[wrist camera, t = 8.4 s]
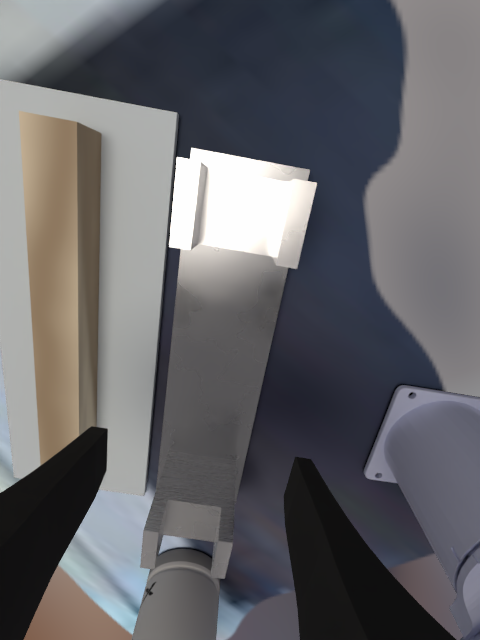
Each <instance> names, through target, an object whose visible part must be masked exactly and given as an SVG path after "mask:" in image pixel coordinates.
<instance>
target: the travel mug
mask: <svg viewBox="0 0 480 640" xmlns="http://www.w3.org/2000/svg"><path fill="white" fill-rule="evenodd" d="M211 568H212V558H210V557H209V556H207V555H206V554H204V553H202V552H199V551H196V550H192V549H174V550H170V551H167V552H165V553H163V554H161V555H159V556H158V557H157V561H156V565H155V569H150V572H149V576H148V580H147V584H146V587H145V591H144V595H143V599H142V602H141V606H140V610H139V614H138V617H137V621H136V625H135V629H134V633H133V636H132V640H216V632H217V618H218V604H219V590H220V578H214V577H211Z"/></svg>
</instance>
